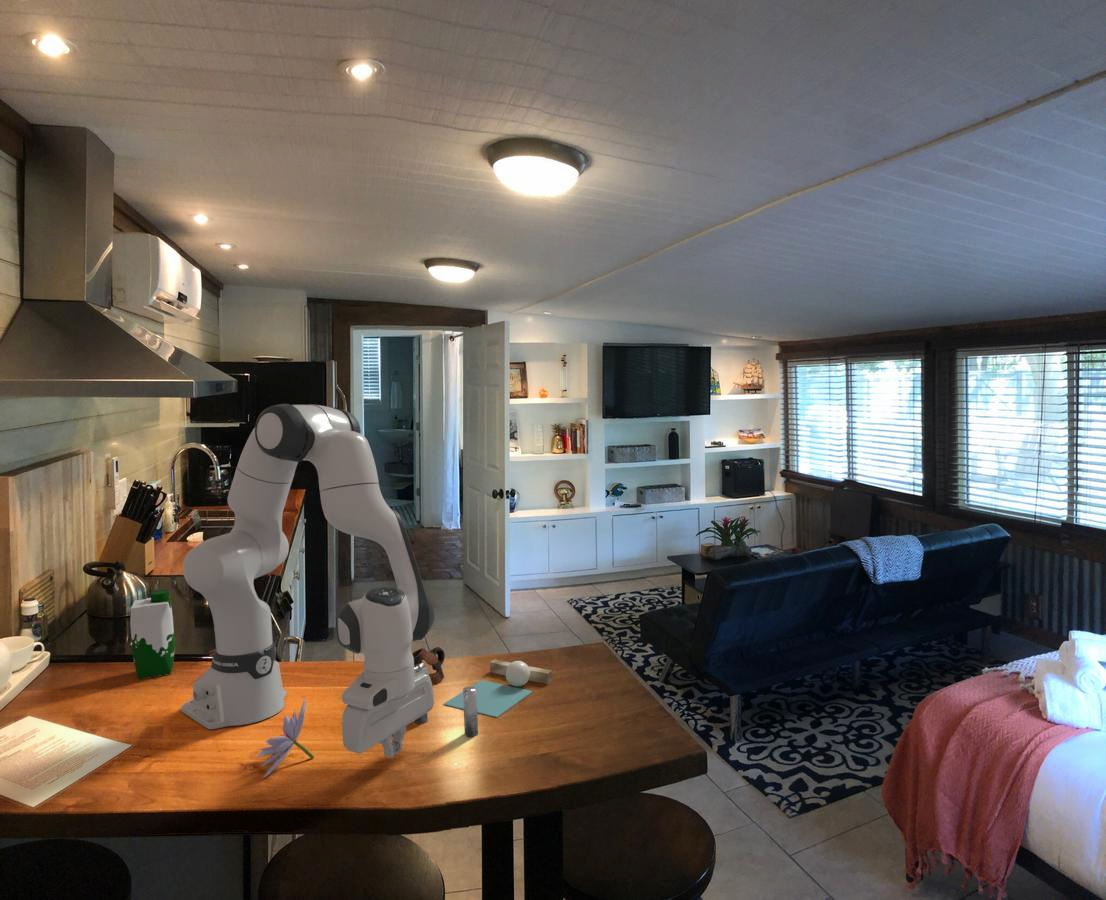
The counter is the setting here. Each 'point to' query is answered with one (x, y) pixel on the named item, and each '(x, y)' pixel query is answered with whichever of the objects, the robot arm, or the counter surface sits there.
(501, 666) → the stopper strip
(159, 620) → the milk carton
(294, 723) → the water lily
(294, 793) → the counter surface
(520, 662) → the ball
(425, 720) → the post
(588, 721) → the counter surface
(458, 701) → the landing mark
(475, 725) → the post
